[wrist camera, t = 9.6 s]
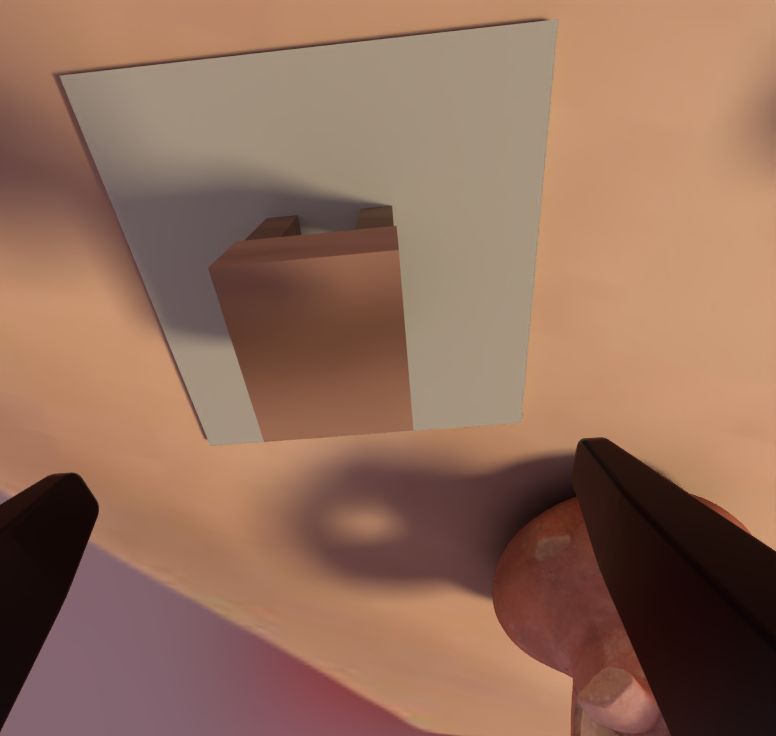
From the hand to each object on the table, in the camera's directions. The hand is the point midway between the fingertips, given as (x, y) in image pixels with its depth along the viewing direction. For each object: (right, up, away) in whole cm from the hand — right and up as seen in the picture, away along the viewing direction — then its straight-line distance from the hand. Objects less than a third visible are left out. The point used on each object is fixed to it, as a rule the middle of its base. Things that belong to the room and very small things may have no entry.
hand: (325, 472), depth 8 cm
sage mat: (-1, +5, +10) cm, 12 cm away
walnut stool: (-1, +5, +10) cm, 11 cm away
